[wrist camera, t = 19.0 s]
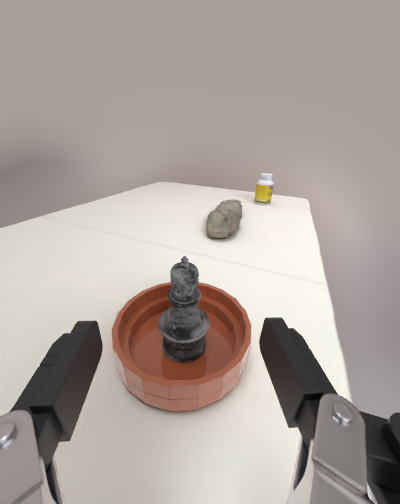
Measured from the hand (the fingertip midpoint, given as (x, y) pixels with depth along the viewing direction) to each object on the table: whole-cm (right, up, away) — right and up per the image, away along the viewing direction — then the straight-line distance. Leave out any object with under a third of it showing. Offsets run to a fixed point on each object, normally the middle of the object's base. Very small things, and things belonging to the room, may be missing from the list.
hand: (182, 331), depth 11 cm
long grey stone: (+9, +14, +59) cm, 61 cm away
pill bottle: (+27, +24, +80) cm, 88 cm away
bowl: (-1, -8, +16) cm, 18 cm away
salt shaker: (-1, -7, +16) cm, 18 cm away
